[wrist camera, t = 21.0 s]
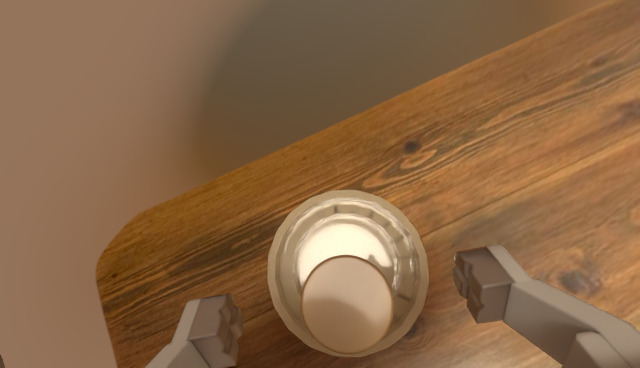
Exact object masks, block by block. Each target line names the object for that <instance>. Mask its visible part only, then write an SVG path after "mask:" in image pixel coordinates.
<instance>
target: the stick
mask: <svg viewBox="0 0 640 368" xmlns="http://www.w3.org/2000/svg"><path fill="white" fill-rule="evenodd" d="M300 304H301V313H302V317H303V321H304V323H305V325H306V328H307V329H308V331H309V333H310V334H311V335H312V337H313V338H314V339H315V340H316V341H317V342H318V343H319V344H321V345H322V346H323V347H325V348H327V349H328V350H331V351H333V352H336V353H340V354H358V353H362V352H365V351H367V350H369V349H371V348H373V347H374V346H375V345H377V344H378V343H379V342H380V341H381V340H382V339H383V337H384V336H385V335H386V333H387V332H388V330H389V328H390V325H391V323H392V319H393V314H394V298H393V294H392V290H391V287H390V285H389V283H388V281H387V279H386V277H385V276H384V274H383V273H382V272H381V271H380V270H379V269H378V268H377V267H376V266H375V265H374V264H372V263H371V262H369V261H368V260H366V259H364V258H361V257H358V256H353V255H338V256H334V257H331V258H328V259H326V260H324V261H322V262H321V263H320V264H318V265H317V266H316V267H315V268H314V269H313V270H312V271H311V272H310V274H309V275H308V277H307V279H306V281H305V283H304V286H303V289H302V293H301V301H300Z"/></svg>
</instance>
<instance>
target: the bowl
mask: <svg viewBox="0 0 640 368" xmlns="http://www.w3.org/2000/svg"><path fill="white" fill-rule="evenodd" d="M338 255H353V256H358V257H361V258H364V259H366V260H368V261H369V262H371V263H372V264H374V265H375V266H376V267H377V268H378V269H379V270H380V271H381V272H382V273H383V274H384V276H385V277H386V279H387V281H388V283H389V285H390V287H391V290H392V294H393V298H394V314H393V319H392V323H391V325H390V328H389V330H388V332H387V333H386V335H385V336H384V337H383V339H382V340H381V341H380V342H379V343H378V344H377V345H375V346H374V347H373V348H371V349H369V350H367V351H365V352H362V353H358V354H340V353H336V352H333V351H331V350H328V349H327V348H325V347H323V346H322V345H321V344H319V343H318V342H317V341H316V340H315V339H314V338H313V337H312V335H311V334H310V333H309V331H308V329H307V328H306V325H305V323H304V321H303V317H302V313H301V304H300V301H301V293H302V289H303V286H304V283H305V281H306V279H307V277H308V275H309V274H310V272H311V271H312V270H313V269H314V268H315V267H316V266H317V265H318V264H320V263H321V262H322V261H324V260H326V259H328V258H331V257H334V256H338ZM267 282H268V286H269V290H270V294H271V298H272V301H273V305H274V308H275V309H276V311H277V312H278V314H279V316H280V317H281V319H282V320H283V322H284V324H285V325H286V327H287V328H288V330H290V331H291V332H292V333H293V334H294V335H296V336H297V337H298V338H299V339H300V340H302V341H303V342H304V343H305V344H306V345H307V346H309V347H311V348H314V349H316V350H319V351H321V352H324V353H326V354H329V355H332V356H335V357H364V356H367V355H370V354H373V353H376V352H379V351H382V350H385V349H387V348H389V347H390V346H391V345H392V344H394V343H395V342H396V341H397V340H399V339H400V338H401V337H403V336H404V335H405V334H406V333H408V331H409V330H410V329H411V327H412V325H413V324H414V322H415V321H416V319H417V317H418V316H419V314H420V313H421V311H422V309H423V307H424V303H425V298H426V294H427V290H428V286H429V272H428V260H427V254H426V251H425V249H424V246H423V244H422V241H421V239H420V237H419V234H418V232H417V230H416V229H415V227H414V226H413V225H412V224H411V222H410V221H409V220H408V219H407V218H406V216H405V215H404V214H403V213H402V212H401V211H400V210H399V209H398V208H396V207H395V206H393V205H392V204H390V203H389V202H387V201H386V200H384V199H383V198H381V197H379V196H376V195H372V194H369V193H366V192H362V191H359V190H333V191H329V192H326V193H323V194H320V195H317V196H314V197H311V198H309V199H308V200H306V201H305V202H304V203H302V204H301V205H300V206H298V207H297V208H295V209H294V210H293V211H291V212H290V214H289V215H288V216H287V218H286V219H285V220H284V222H283V223H282V225H281V226H280V227H279V229H278V230H277V232H276V234H275V237H274V240H273V243H272V246H271V248H270V251H269V254H268V271H267Z"/></svg>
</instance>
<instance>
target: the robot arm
mask: <svg viewBox="0 0 640 368" xmlns="http://www.w3.org/2000/svg"><path fill="white" fill-rule="evenodd" d="M454 261H455V263H456V264H457V265H456V266H455V267H454V268H453V278H454V282H455V285H456V287H457V290H458V291H459V293H460V295H461V296H463V297H464V298H466V299H467V300H468V301H467V307H468V309H469V311H470V312H471V314H472V316H473V318H474V319H475V321H476V323H477V324H479V323H486V322H493V321H500V320H503V322H505V323H506V324H507V325H509V326H510V327H511V328H513V329H514V330H515V331H517V332H518V333H520V334H521V335H522V336H524V337H525V338H526V339H528V340H529V341H530V342H532V343H533V344H534V345H536V346H537V347H539V348H540V349H541V350H543V351H544V352H545V353H547V354H548V355H549V356H551V357H552V358H554V359H555V360H556V361H558V362H559V363H560V364H562V365H563V366H562V368H640V332H639V331H638V330H637V329H636V328H635V327H634V326H633V325H632V324H631V323H628V322H626V321H624V320H622V319H620V318H618V317H616V316H614V315H612V314H610V313H608V312H605V311H603V310H601V309H599V308H597V307H595V306H593V305H591V304H589V303H587V302H585V301H582V300H580V299H578V298H576V297H574V296H572V295H570V294H568V293H566V292H564V291H562V290H559V289H557V288H555V287H553V286H551V285H549V284H547V283H545V282H543V281H541V280H539V279H534V280H533V279H532V278H531V277H530V276H529V275H528V274H527V273H526V271H525V270H524V269H523V268H522V267H521V266H520V265H519V264H518V262H517V261H516V260H515V259H514V258H513V257H512V256H511V255H510V253H509V252H508V251H507V250H506V249H505V248H504V247H503V246H502V245H500V244H496V245H490V246H485V247H479V248H474V249H469V250H464V251H458V252H455V254H454ZM234 301H235V299H234V297H233V296H232V294H225V295H219V296H212V297H206V298H201V299H194V300H189V302H188V303H187V304H186V306H185V308H184V311H183V313H182V316H181V319H180V321H179V324H178V326H177V329H176V332H175V334H174V337H173V339H172V342H171V344H168V345H166V346H165V347H164V348H163V349H162V350H161V351H160V352H159V353H158V354H157V355H156V356H155V357H154V358H153V359H152V360H151V362H150V363H149V364H148V365H147V366H146V367H145V368H226V367H231V366H236V363H237V357H238V351H239V345H238V343H237V339H238V338H239V337H240V335H241V334H242V328H243V318H242V314H241V311H240V309H239V307H237V306H235V305H234Z"/></svg>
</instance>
